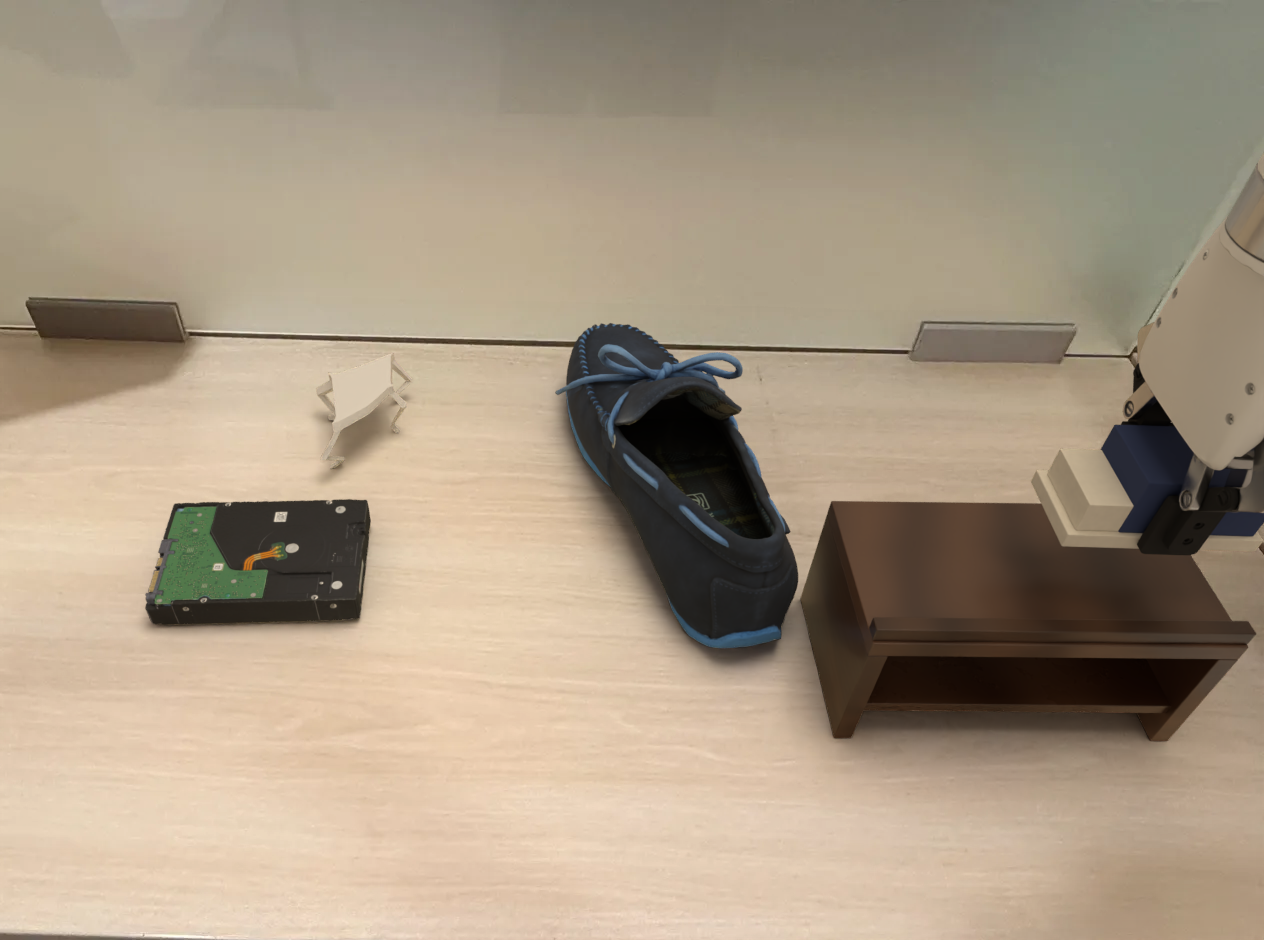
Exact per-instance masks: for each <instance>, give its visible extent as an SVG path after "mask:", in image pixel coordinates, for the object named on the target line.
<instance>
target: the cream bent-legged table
mask: <svg viewBox="0 0 1264 940" xmlns="http://www.w3.org/2000/svg"><path fill="white" fill-rule="evenodd" d="M394 353H395V352H391V353H389V354H385V355H383V356H380V357H378V358H375V359H373V360H371V361H368V362H366V363H363V364H360V365H358V366H355V367H351V368H348V369H346V370H342V371H339V372H337V373H333V372H327V373H328V378H329V380H327V381H326V382H324V383H322V384H320V385H319V386H317V387H316V388H315V391H316V396H317V397H318V398H319V399H320V401H321V402H322V403H323V404H324V405H325V406H326V408H327V409H328V410H329V411H330V413H332V414H327V417H328V421H332V422H331V426H332V430H333V434H332V436H331V438H330V440H329V442H328V444H327V446H326V448H325V449H324V450H323V452H322V454H321V457H320V460H321V461H333V463H332V464H330V468H329V469H330V470H333V469H336V468H337V467H338V466H339V465H341V464H342V463H343V462H344V461H345V459H346V456H339V455H330V454H331V452H332V450H333V447H334V446H335V445H336V442H337V440H338V438H339V436H340V434H341V432H342V431H343V430H344V429H346V428H348V427H350V426H351V425H353V424H354V423H356V422H358V421H360V420H362V419H363V418H365V417H367V416H368V415H370V414H371V413H372V412H373V411H374V410H375V409H376V408H377V407H379V406H380V405H381V404H382V403H383V401H385V400H386V399H387V398H388V397H389V396H390V397H391V399H392V400H394V401H395V402H396V403H397V405H399V406H400V407H399V409H398V411H397V412H396V414H395V416H394V418H393V420H392V422H391V423H390V428H391V430H392V431H393V432H394V433H395V434H399V433H400V430H401V429H400V428H399V426H398V425H397V424H396V422H397V421H398V420H399V418H400V417H401V415H402V413H403V412H404V411H405V410H406V408H407V401H405V399H403V398H402V397H401V396H400V394H401V393H402V392H404V391H405V390H406V389H407V388H408V387H409V386H410V385H411V384H412V383H413V381H414V378H412V377H411V376H410V374H409V373H408V372H407V370H405V368H404V367H403V366H402V365H401V364H400V363H399V362H398V361H397V360H396V359H395V354H394ZM393 371H394V372H395V373H396V374H398V375H399V376H400V377H402V379H403V380H404V382H403V383H402V384H401V385H400V387H399V388H398V389H396V391H395V390H394V389H395V388H394V385H393ZM330 393H333V394H332V395H333V402H332V400H331V399H330V398H329V396H328V395H327V394H330ZM333 403H334V404H333Z"/></svg>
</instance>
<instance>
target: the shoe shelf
mask: <svg viewBox="0 0 1264 940" xmlns="http://www.w3.org/2000/svg"><path fill="white" fill-rule="evenodd" d="M800 595H801V596H800V603H801V607H802V610H803V614H804V619H805V623H806V627H807V632H808V635H809V640H810V644H811V648H812V652H813V656H814V660H815V664H816V665H815V666H816V670H817V673H818V678H819V682H820V685H821V691H822V694H823V698H824V703H825V707H826V711H827V715H828V718H829V723H830V727H831V732H832V735H833V736H832V737H833V738H834V739H852V738H853V736H854V733H855V731H856V729H857V726H858V724H859V722H860V720H861V719H862V718H861V717H862V716H863V714H864V712H865V711H875V712H877V711H879V712H880V711H881V712H883V711H884V712H885V711H888V712H891V711H892V712H985V713H987V712H992V713H993V712H994V713H995V712H996V713H998V712H1001V713H1003V712H1004V713H1017V712H1018V713H1095V714H1096V713H1102V714H1104V713H1106V714H1107V713H1108V714H1109V713H1110V714H1114V713H1115V714H1116V713H1118V714H1136V716H1137V718H1139V722H1140V723H1141V725H1142V727H1143V729H1144V732H1145V733H1146V735H1147V737H1148V739H1149V741H1151V742H1153V741H1156V742H1165V741H1166V742H1167V741H1169V740H1170V739H1171V738H1172V737H1173V736H1174V734H1175V733H1176V732H1177V731H1178V730H1179V728H1181V726H1182V725H1183V724H1184V723H1185V722H1186V721H1187V720H1188V718H1189V717H1190V716H1191V715H1192V714H1193V713H1194V712H1195V710H1196V709H1197V708H1198V707H1199V706H1200V705H1201V704H1202V702H1203V701H1204V700H1205V699H1206V698H1207V696H1209V694H1210V693H1211V692H1212V691H1213V689H1215V687H1216V686H1217V685H1218V684H1219V683H1220V682H1221V680H1223V678H1224V677H1225V676H1226V675H1227V674H1228V672H1229V671H1230V670H1231V669H1232V668H1233V667H1234V666H1235V664H1236V663H1237V662H1238V660H1239V659H1241V658H1242V656H1243V655H1244V654H1245V653H1246V652H1247V650H1248V649H1249V647H1250V646H1249V645H1248V644H1250V643H1251V641H1252V640H1253V639H1254V638H1255V636H1257V632H1256V631H1255V629H1254V627H1253V626H1252V624H1251V623H1250V621H1249V620H1232V618H1231V616H1230V615H1229V613H1228V611H1227V610H1226V609H1225V607H1224V605H1223V603H1222V602H1221V600H1220V599H1219V598H1218V596H1217V594H1216V593H1215V591H1214V589H1213V587H1211V585H1210V583H1209V582H1208V580H1207V578H1206V577H1205V575H1204V573H1203V572H1202V570H1201V569H1200V567H1199V565H1198V564H1197V562H1196V561H1195V559H1194V557H1193V555H1158V554H1143V553H1141V551H1140V550H1139V549H1133V548H1101V547H1069V546H1061V544H1060V542H1059V539H1058V537H1057V535H1056V533H1055V531H1054V529H1053V527H1052V525H1051V523H1050V521H1049V519H1048V516H1047V514H1046V512H1045V510H1044V508H1043V506H1042V504H1041V502H1039V503H1036V502H1035V503H1034V502H1033V503H1032V502H960V501H959V502H957V501H955V502H954V501H953V502H951V501H949V502H946V501H945V502H944V501H938V502H937V501H873V500H872V501H871V500H870V501H869V500H868V501H863V500H860V501H858V500H854V501H853V500H831V501H830V503H829V507H828V510H827V514H826V516H825V520H824V523H823V526H822V528H821V532H820V535H819V537H818V542H817V545H816V548H815V551H814V554H813V558H812V561H811V565H810V567H809V571H808V574H807V576H806V580H805V583H804V586H803V589H802V592H801V594H800Z"/></svg>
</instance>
